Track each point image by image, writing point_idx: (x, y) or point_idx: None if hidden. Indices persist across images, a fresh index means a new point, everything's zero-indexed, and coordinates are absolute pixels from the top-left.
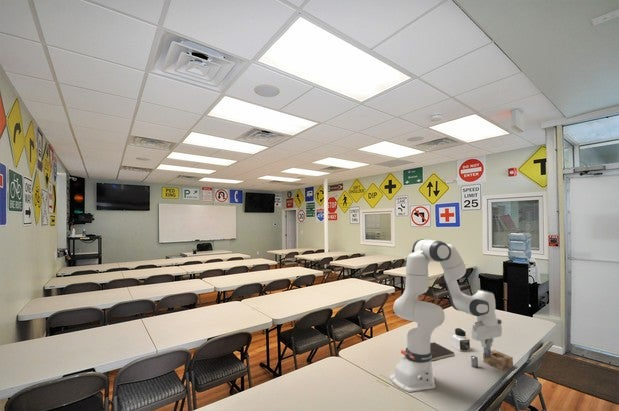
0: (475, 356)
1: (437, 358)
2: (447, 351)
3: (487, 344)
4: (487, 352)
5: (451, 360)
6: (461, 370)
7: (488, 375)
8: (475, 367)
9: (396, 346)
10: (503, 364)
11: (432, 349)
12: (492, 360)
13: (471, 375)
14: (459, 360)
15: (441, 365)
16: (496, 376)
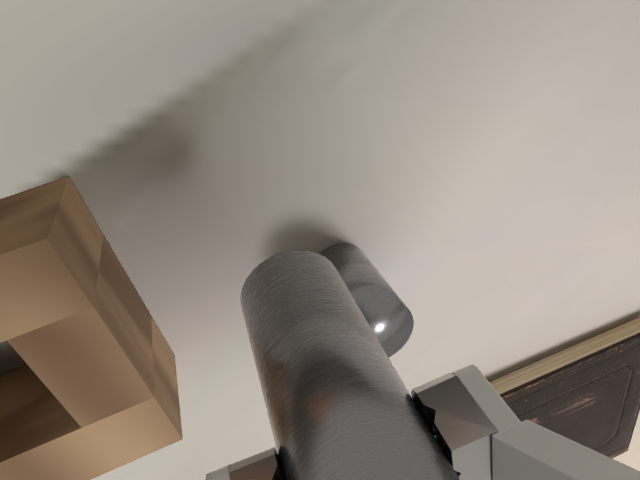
0: None
1: (537, 367)
2: None
3: (429, 449)
4: (352, 312)
5: (452, 357)
6: (513, 204)
7: (339, 87)
8: (355, 247)
9: None
10: (6, 227)
11: None
12: (125, 320)
13: (508, 110)
14: None
15: (583, 280)
16: (257, 50)
